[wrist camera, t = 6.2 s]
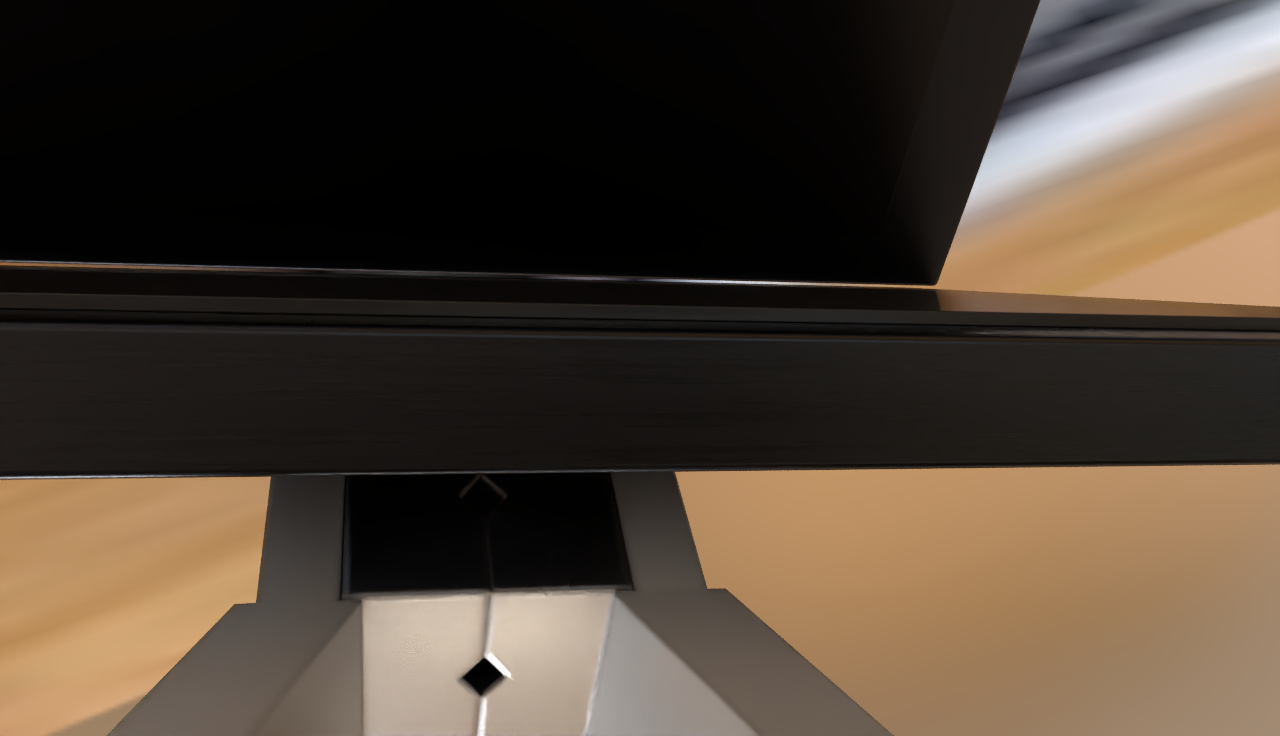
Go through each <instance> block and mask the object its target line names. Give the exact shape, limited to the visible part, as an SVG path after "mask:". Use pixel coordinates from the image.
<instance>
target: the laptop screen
mask: <svg viewBox="0 0 1280 736" xmlns="http://www.w3.org/2000/svg"><path fill="white" fill-rule="evenodd" d="M1263 464H1264V465H1265V464H1280V307H1271V306H1270V307H1269V306H1252V305H1232V304H1213V303H1194V302H1174V301H1155V300H1154V301H1153V300H1134V299H1116V298H1096V297H1095V298H1094V297H1077V296H1057V295H1038V294H1019V293H999V292H980V291H960V290H941V289H921V288H899V287H859V286H818V285H778V284H737V283H697V282H656V281H616V280H575V279H534V278H494V277H453V276H413V275H372V274H332V273H291V272H251V271H210V270H170V269H129V268H89V267H48V266H8V265H0V480H16V479H99V478H182V477H266V476H349V475H432V474H515V473H599V472H681V471H758V470H759V471H762V470H763V471H764V470H847V469H848V470H849V469H922V468H923V469H924V468H926V469H929V468H930V469H931V468H1009V467H1010V468H1011V467H1012V468H1015V467H1089V466H1090V467H1095V466H1096V467H1098V466H1178V465H1179V466H1180V465H1181V466H1182V465H1263Z"/></svg>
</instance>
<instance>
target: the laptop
mask: <svg viewBox="0 0 1280 736" xmlns="http://www.w3.org/2000/svg"><path fill="white" fill-rule="evenodd" d="M1039 3H1040V0H0V262H14V263H54V264H93V265H133V266H172V267H212V268H252V269H291V270H331V271H371V272H410V273H450V274H490V275H529V276H569V277H609V278H648V279H688V280H728V281H767V282H807V283H847V284H886V285H926V286H934V285H936V284H937V282H938V280H939V277H940V274H941V271H942V269H943V266H944V263H945V260H946V258H947V255H948V252H949V249H950V247H951V244H952V241H953V238H954V236H955V233H956V230H957V227H958V225H959V222H960V219H961V217H962V214H963V211H964V208H965V206H966V203H967V200H968V197H969V195H970V192H971V189H972V186H973V184H974V181H975V178H976V175H977V173H978V170H979V167H980V164H981V162H982V159H983V156H984V153H985V151H986V148H987V145H988V143H989V140H990V137H991V134H992V132H993V129H994V126H995V123H996V121H997V118H998V115H999V112H1000V110H1001V107H1002V104H1003V101H1004V99H1005V96H1006V93H1007V90H1008V88H1009V85H1010V82H1011V79H1012V77H1013V74H1014V71H1015V69H1016V66H1017V63H1018V60H1019V58H1020V55H1021V52H1022V49H1023V47H1024V44H1025V41H1026V38H1027V36H1028V33H1029V30H1030V27H1031V25H1032V22H1033V19H1034V16H1035V14H1036V11H1037V8H1038V5H1039Z"/></svg>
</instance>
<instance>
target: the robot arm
mask: <svg viewBox="0 0 1280 736" xmlns="http://www.w3.org/2000/svg"><path fill="white" fill-rule="evenodd" d="M107 736H894V735H892V734H891V733H890V732H889V731H888V730H887V729H886V728H884V727H883V726H882V725H881V724H880V723H878V721H876V720H875V719H874V718H873V717H872V716H871V715H870V714H868V713H867V712H866V711H865V710H864V709H863V708H862V707H860V706H859V705H858V704H857V703H856V702H855V701H854V700H852V699H851V698H850V697H849V696H848V695H846V693H844V692H843V691H842V690H841V689H840V688H839V687H837V686H836V685H835V684H834V683H833V682H832V681H831V680H829V679H828V678H827V677H826V676H825V675H824V674H823V673H822V672H820V671H819V670H818V669H817V668H816V667H815V666H813V665H812V664H811V663H810V662H809V661H808V660H807V659H806V658H804V657H803V656H802V655H801V654H800V653H799V652H798V651H796V650H795V649H794V648H793V647H792V646H791V645H789V644H788V643H787V642H786V641H785V640H784V639H783V638H781V637H780V636H779V635H778V634H777V633H776V632H775V631H774V630H772V629H771V628H770V627H769V626H768V625H767V624H765V623H764V622H763V621H762V620H761V619H760V618H759V617H757V616H756V615H755V614H754V613H753V612H752V611H751V610H749V609H748V608H747V607H746V606H745V605H744V604H743V603H741V602H740V601H739V600H738V599H737V598H736V597H735V596H733V595H732V594H731V593H730V592H729V591H728V590H726V589H707V586H706V582H705V579H704V575H703V572H702V568H701V564H700V561H699V557H698V554H697V550H696V546H695V543H694V540H693V536H692V532H691V528H690V525H689V521H688V518H687V514H686V511H685V507H684V503H683V500H682V496H681V493H680V489H679V485H678V482H677V478H676V474H675V472H599V473H515V474H432V475H349V476H271V481H270V490H269V498H268V507H267V515H266V523H265V532H264V540H263V549H262V557H261V566H260V574H259V582H258V591H257V599H256V603H248V604H234V605H233V606H232V607H231V608H230V610H229V611H228V612H227V613H226V614H225V615H224V616H223V617H222V618H221V619H220V620H219V621H218V622H217V623H216V624H215V625H214V626H213V627H212V628H211V629H210V630H209V631H208V632H207V633H206V634H205V635H204V636H203V637H202V638H201V639H200V640H199V641H198V642H197V643H196V644H195V645H194V646H193V647H192V649H191V650H190V651H189V652H188V653H187V654H186V655H185V656H184V657H183V658H182V659H181V660H180V661H179V662H178V663H177V664H176V665H175V666H174V667H173V668H172V669H171V670H170V671H169V672H168V673H167V674H166V675H165V676H164V677H163V678H162V679H161V680H160V681H159V682H158V683H157V684H156V685H155V686H154V688H153V689H152V690H151V691H150V692H149V693H148V694H147V695H146V696H145V697H144V698H143V699H142V700H141V701H140V702H139V703H138V704H137V705H136V706H135V707H134V708H133V709H132V710H131V711H130V712H129V713H128V714H127V715H126V716H125V717H124V718H123V719H122V720H121V721H120V722H119V723H118V724H117V726H116V727H115V728H114V729H113V730H112V731H111V732H110V733H109V734H108V735H107Z"/></svg>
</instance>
